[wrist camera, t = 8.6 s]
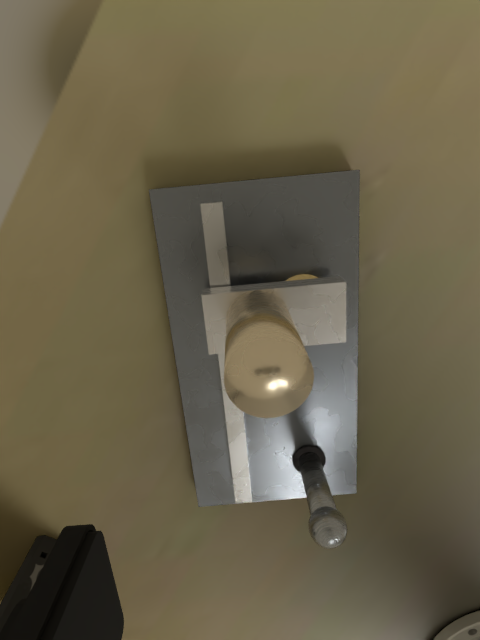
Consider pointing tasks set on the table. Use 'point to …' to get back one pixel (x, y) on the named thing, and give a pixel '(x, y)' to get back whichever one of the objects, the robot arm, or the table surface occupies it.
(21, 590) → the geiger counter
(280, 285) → the sliding carriage with knob
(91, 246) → the table surface
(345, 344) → the plate
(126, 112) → the table surface
